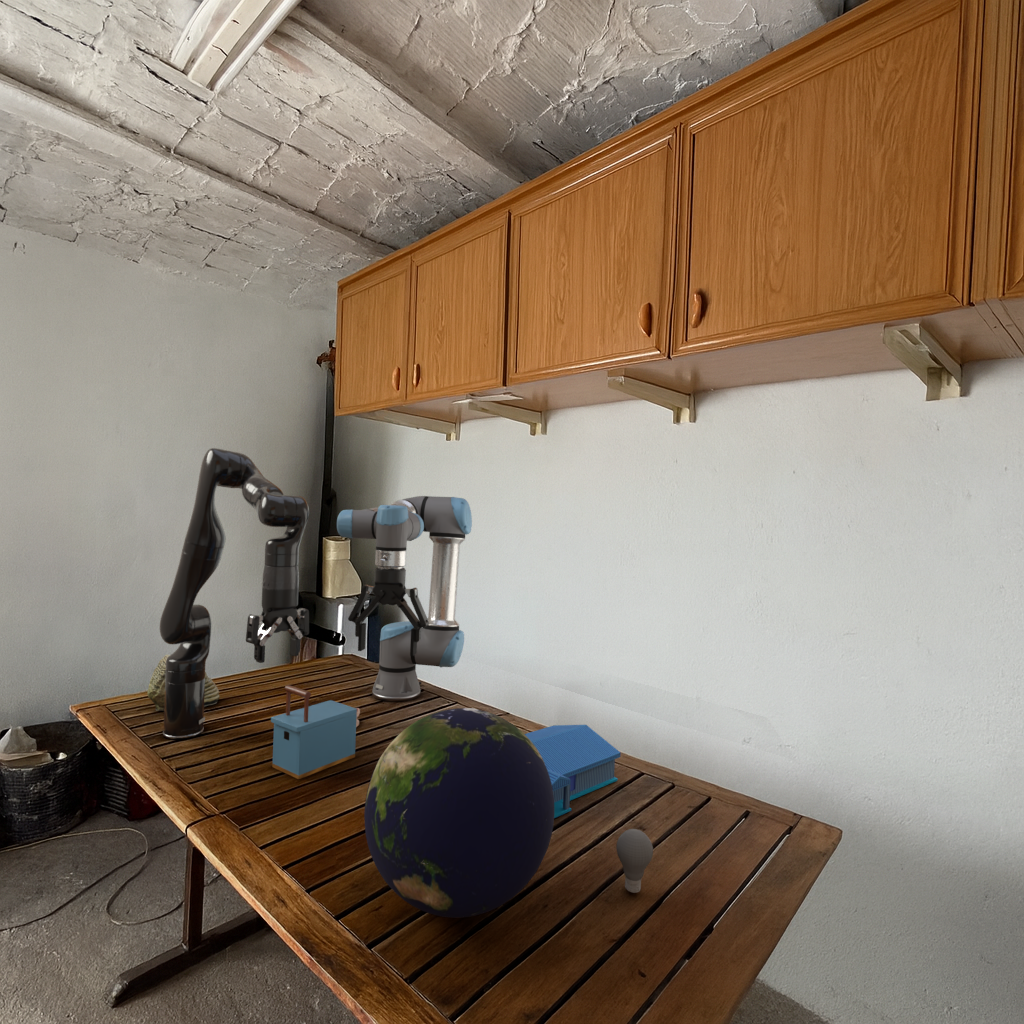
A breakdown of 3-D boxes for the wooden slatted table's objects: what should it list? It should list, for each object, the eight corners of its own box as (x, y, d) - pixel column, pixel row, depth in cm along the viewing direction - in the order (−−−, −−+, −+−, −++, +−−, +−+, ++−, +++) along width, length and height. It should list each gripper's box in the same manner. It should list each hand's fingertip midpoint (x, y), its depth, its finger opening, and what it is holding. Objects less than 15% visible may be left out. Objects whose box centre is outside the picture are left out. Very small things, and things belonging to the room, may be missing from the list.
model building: (501, 841, 119) (503, 788, 119) (426, 793, 137) (428, 747, 137) (629, 785, 145) (631, 742, 145) (552, 750, 163) (554, 712, 163)
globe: (319, 928, 93) (327, 726, 93) (422, 833, 121) (429, 676, 120) (506, 997, 82) (516, 767, 81) (573, 874, 109) (581, 702, 109)
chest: (298, 779, 141) (300, 731, 141) (272, 767, 147) (273, 721, 147) (355, 757, 155) (356, 713, 154) (329, 746, 160) (330, 704, 160)
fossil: (144, 707, 182) (145, 655, 182) (212, 696, 194) (213, 647, 194) (151, 716, 175) (153, 662, 175) (221, 703, 188) (223, 653, 188)
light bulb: (610, 879, 108) (613, 822, 108) (644, 879, 109) (647, 822, 109) (619, 902, 102) (622, 840, 102) (655, 901, 103) (658, 840, 103)
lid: (297, 732, 140) (298, 696, 140) (270, 722, 146) (271, 687, 146) (356, 713, 154) (358, 680, 154) (330, 704, 160) (331, 672, 160)
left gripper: (261, 590, 131) (258, 668, 132) (318, 584, 143) (315, 656, 143) (240, 586, 136) (237, 661, 136) (297, 581, 147) (294, 650, 148)
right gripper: (336, 565, 156) (333, 651, 156) (434, 572, 151) (430, 660, 152) (349, 562, 163) (346, 644, 163) (443, 568, 159) (439, 652, 159)
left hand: (277, 658), depth 140 cm, fingers open, 8 cm apart
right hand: (387, 652), depth 158 cm, fingers open, 13 cm apart
